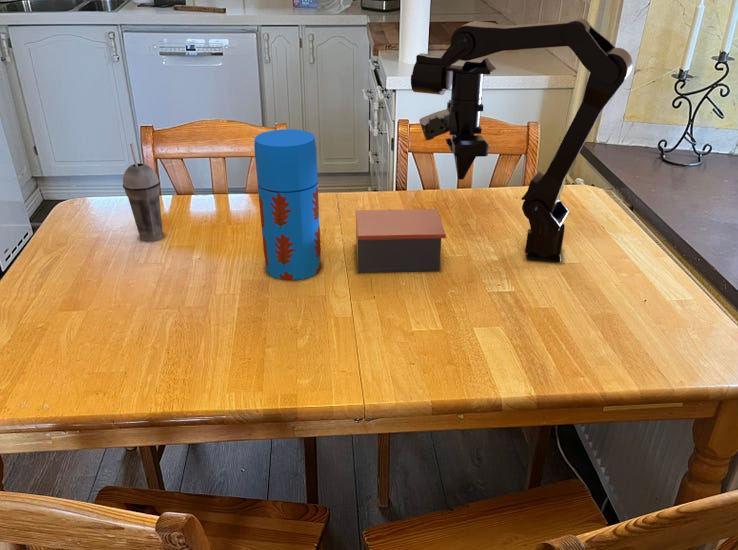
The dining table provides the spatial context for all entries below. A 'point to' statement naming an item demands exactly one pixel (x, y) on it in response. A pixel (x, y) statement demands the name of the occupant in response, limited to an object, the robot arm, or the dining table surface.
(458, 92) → the robot arm
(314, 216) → the thermos
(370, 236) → the lid
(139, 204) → the beverage cup
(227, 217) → the dining table surface
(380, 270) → the box
